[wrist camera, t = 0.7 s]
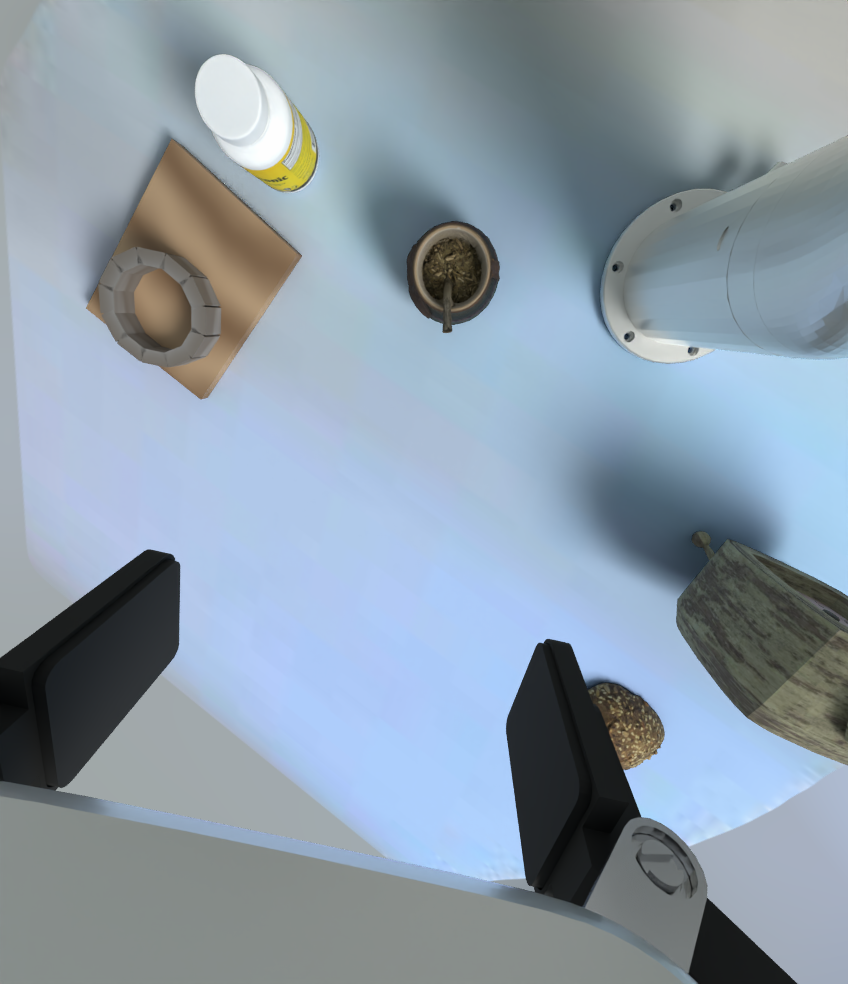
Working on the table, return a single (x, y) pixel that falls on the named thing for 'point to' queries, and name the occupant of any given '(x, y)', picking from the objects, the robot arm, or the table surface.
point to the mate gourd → (452, 273)
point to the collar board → (190, 274)
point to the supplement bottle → (256, 123)
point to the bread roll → (628, 723)
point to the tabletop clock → (772, 644)
